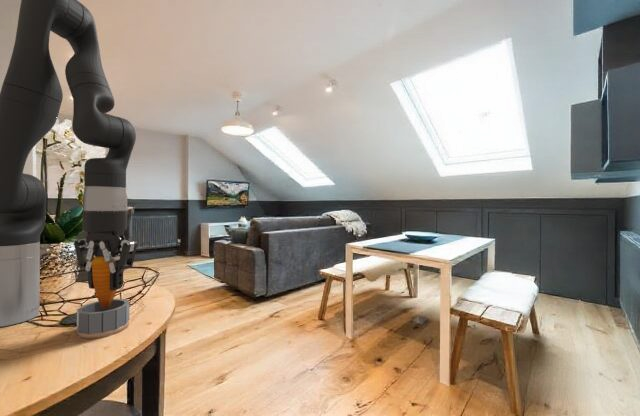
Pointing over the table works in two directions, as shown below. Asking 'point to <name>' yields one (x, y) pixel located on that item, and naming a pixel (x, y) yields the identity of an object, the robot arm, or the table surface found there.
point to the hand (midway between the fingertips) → (105, 288)
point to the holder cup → (102, 319)
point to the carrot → (102, 281)
